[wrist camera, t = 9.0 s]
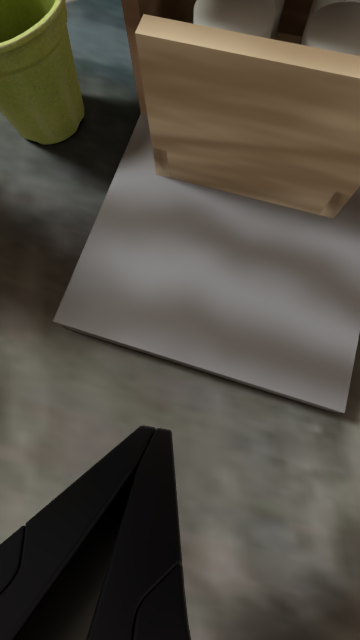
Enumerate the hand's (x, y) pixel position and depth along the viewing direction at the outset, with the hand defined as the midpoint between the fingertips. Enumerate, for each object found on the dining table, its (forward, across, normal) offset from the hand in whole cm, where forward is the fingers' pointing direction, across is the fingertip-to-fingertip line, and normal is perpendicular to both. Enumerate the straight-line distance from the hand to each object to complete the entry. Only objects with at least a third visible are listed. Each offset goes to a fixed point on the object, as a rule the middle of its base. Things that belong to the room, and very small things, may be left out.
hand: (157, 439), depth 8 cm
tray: (+22, -2, -10) cm, 24 cm away
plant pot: (+23, +16, -11) cm, 30 cm away
